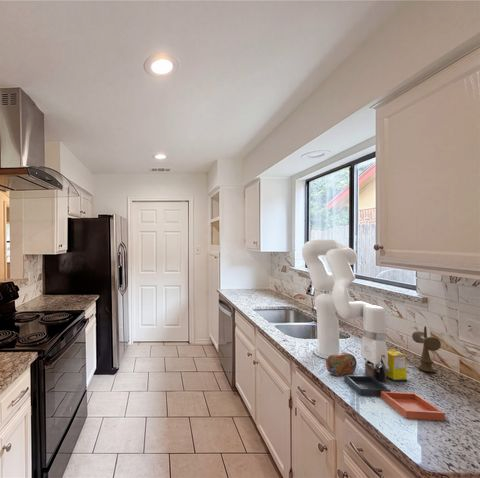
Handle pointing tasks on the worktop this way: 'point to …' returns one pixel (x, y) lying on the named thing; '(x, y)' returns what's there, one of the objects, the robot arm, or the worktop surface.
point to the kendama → (426, 349)
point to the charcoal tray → (365, 385)
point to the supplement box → (396, 366)
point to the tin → (341, 364)
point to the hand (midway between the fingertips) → (375, 377)
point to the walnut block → (371, 370)
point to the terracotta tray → (412, 406)
